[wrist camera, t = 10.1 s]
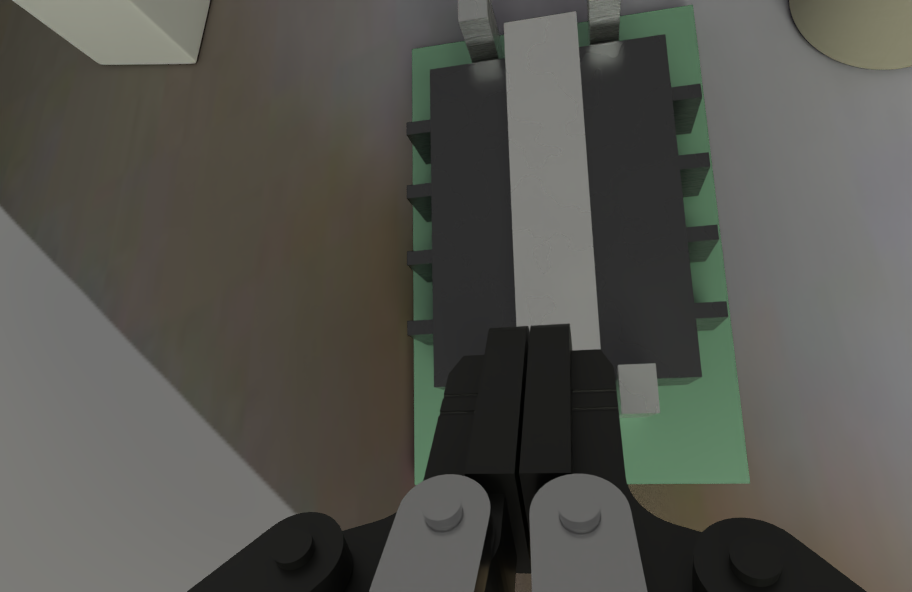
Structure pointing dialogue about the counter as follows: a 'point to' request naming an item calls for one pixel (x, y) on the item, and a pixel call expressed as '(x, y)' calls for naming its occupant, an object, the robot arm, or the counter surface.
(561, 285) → the retention strap
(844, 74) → the counter surface
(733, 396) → the circuit board
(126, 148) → the counter surface
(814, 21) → the travel mug
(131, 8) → the milk carton
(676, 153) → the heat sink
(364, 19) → the counter surface
